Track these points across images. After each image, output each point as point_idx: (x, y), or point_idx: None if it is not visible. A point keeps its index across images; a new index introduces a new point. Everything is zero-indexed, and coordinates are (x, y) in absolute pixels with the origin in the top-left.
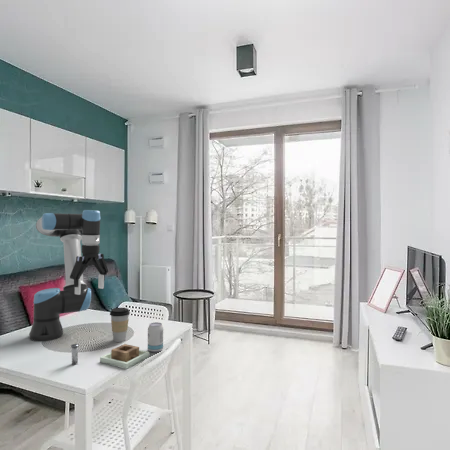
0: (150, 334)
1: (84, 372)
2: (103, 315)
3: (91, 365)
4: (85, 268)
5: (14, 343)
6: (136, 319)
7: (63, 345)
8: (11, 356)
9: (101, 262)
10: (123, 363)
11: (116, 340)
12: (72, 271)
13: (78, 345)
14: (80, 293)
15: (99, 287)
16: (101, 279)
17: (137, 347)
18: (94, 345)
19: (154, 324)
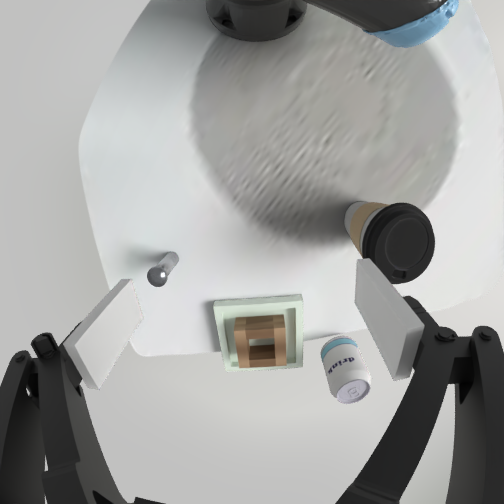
0: (328, 379)
1: (162, 312)
2: (464, 25)
3: (191, 298)
4: (110, 478)
5: (169, 2)
6: (494, 133)
7: (234, 109)
8: (111, 86)
9: (462, 483)
10: (224, 364)
11: (345, 226)
12: (3, 398)
13: (163, 284)
14: (141, 320)
15: (358, 276)
16: (381, 336)
17: (282, 364)
18: (288, 190)
19: (357, 384)
